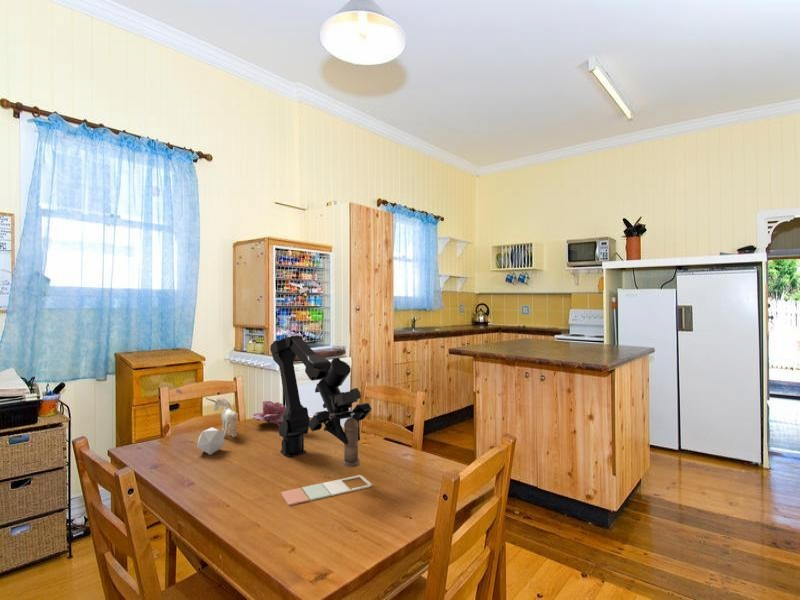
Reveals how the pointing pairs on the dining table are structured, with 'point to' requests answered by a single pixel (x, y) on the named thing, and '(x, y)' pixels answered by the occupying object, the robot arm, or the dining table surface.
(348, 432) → the walnut pawn
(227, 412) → the unicorn figurine
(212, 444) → the die
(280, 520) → the dining table surface
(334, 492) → the strip
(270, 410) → the flower
